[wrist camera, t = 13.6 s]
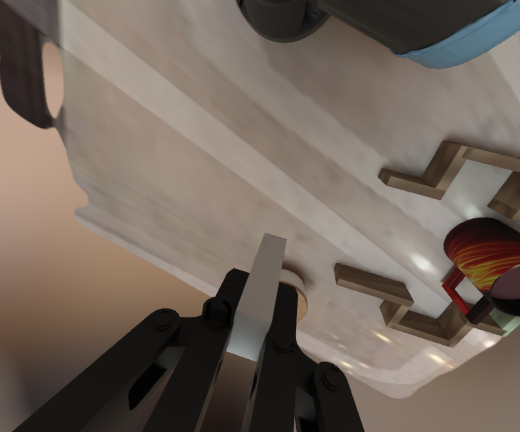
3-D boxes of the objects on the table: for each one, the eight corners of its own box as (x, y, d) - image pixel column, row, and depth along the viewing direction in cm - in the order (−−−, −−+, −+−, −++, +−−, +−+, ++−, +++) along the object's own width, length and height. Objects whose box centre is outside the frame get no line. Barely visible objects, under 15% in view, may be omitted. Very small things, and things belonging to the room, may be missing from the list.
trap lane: (400, 129, 35) (413, 132, 31) (616, 183, 33) (664, 195, 28) (323, 289, 51) (324, 306, 47) (466, 334, 48) (482, 357, 44)
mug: (438, 283, 45) (478, 337, 34) (446, 220, 40) (495, 261, 29) (499, 282, 42) (562, 340, 32) (515, 214, 37) (598, 257, 26)
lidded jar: (318, 281, 50) (319, 315, 42) (286, 304, 55) (282, 339, 47) (281, 251, 49) (275, 280, 41) (251, 278, 54) (241, 309, 45)
